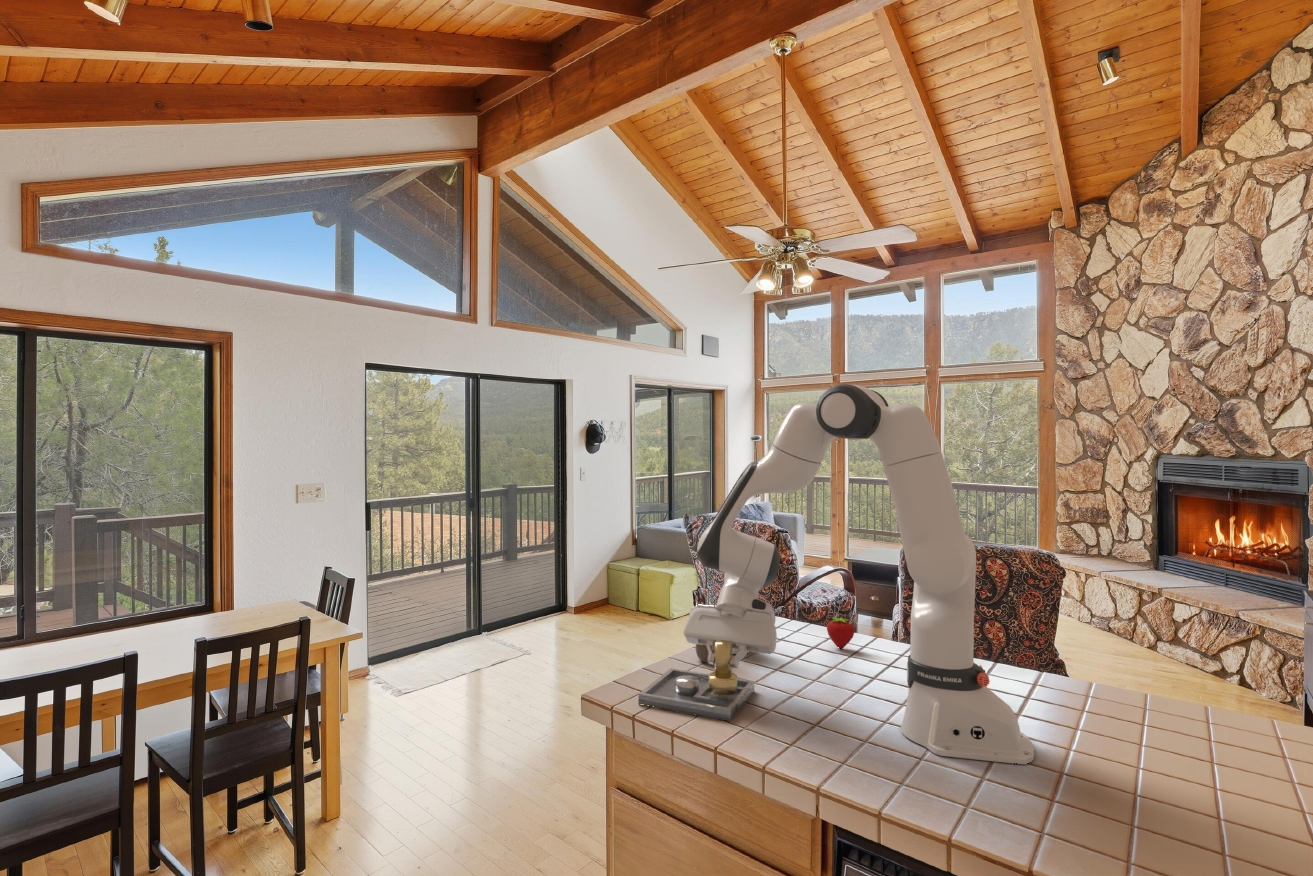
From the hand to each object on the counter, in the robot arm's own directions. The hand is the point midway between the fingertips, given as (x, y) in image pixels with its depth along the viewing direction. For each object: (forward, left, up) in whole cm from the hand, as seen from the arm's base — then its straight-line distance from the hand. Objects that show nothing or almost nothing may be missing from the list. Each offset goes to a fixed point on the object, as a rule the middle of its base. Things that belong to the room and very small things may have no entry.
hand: (722, 664), depth 140 cm
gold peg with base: (0, -1, -6) cm, 6 cm away
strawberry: (-17, -51, -8) cm, 54 cm away
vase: (+12, -26, -8) cm, 29 cm away
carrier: (+6, -1, -8) cm, 10 cm away
